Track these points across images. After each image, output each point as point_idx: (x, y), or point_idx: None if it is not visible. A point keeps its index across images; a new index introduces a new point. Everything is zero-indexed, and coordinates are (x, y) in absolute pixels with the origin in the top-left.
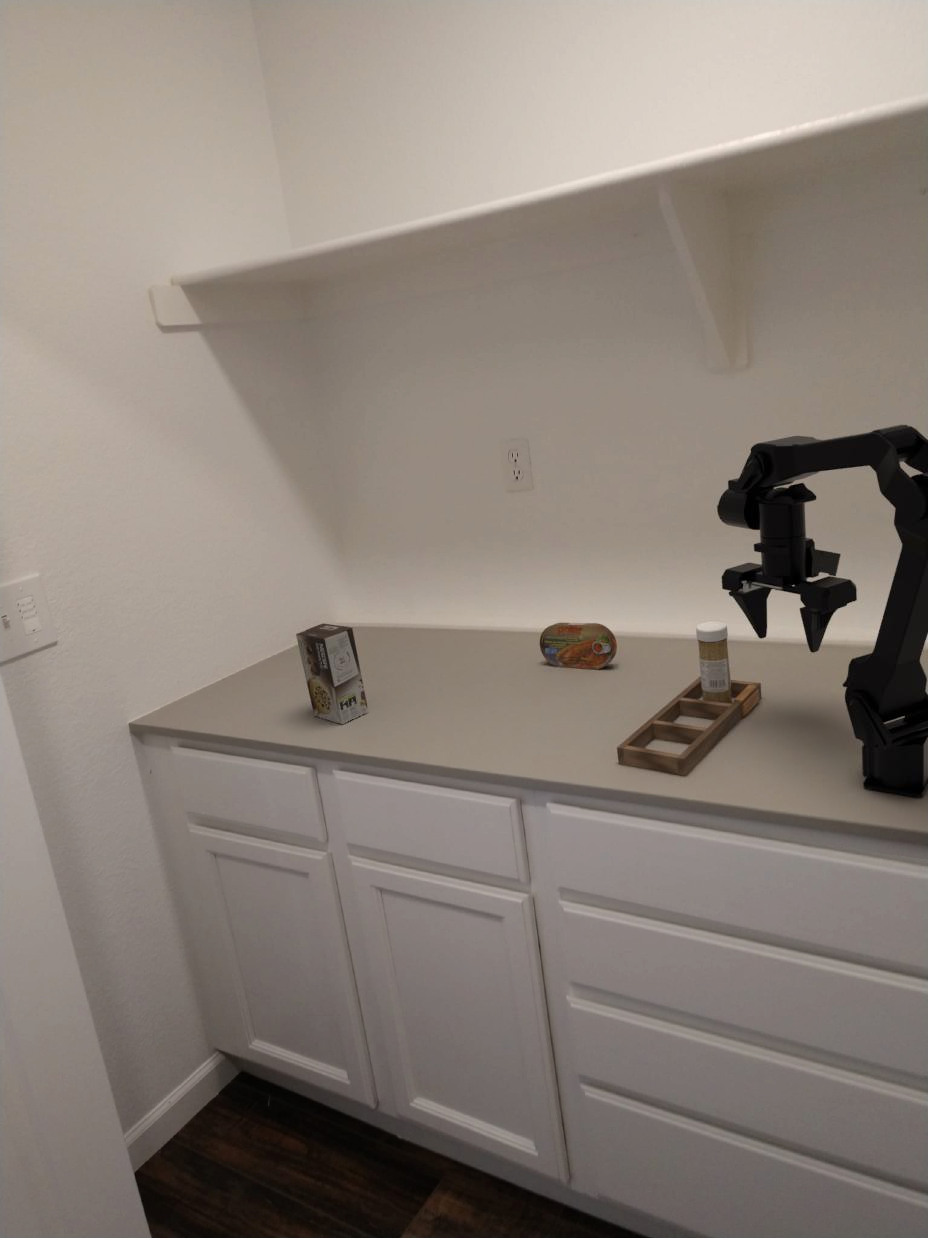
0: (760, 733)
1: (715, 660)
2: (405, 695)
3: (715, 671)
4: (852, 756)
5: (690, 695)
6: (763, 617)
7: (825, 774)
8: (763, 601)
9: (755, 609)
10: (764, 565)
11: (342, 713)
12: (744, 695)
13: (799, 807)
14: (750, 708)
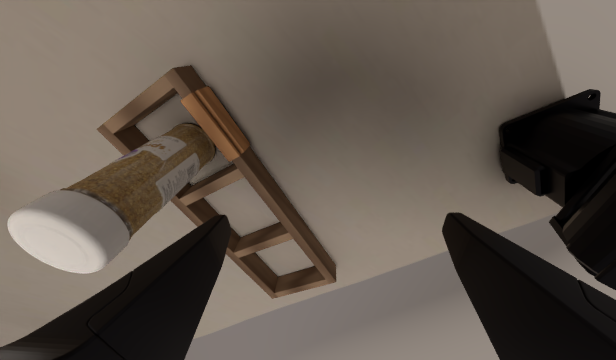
0: (306, 160)
1: (161, 206)
2: (46, 312)
3: (175, 192)
4: (451, 124)
5: None
6: (183, 277)
7: (446, 183)
8: (107, 357)
9: (164, 350)
10: None
11: None
12: (222, 139)
13: None
14: (234, 124)
